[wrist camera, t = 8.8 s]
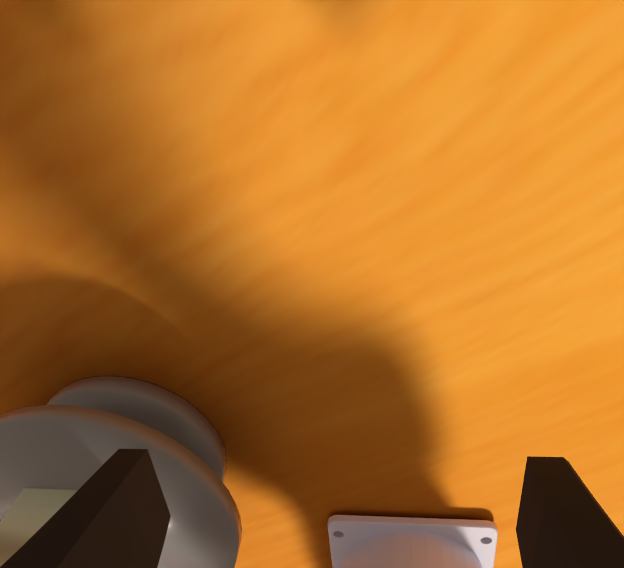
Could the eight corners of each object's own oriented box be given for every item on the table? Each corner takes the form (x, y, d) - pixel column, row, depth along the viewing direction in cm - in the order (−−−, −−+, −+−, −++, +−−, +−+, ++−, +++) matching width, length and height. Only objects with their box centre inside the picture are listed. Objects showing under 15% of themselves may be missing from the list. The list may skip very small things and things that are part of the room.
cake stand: (273, 533, 27) (257, 618, 24) (59, 524, 29) (14, 602, 25) (235, 347, 21) (206, 422, 18) (-31, 349, 23) (-107, 418, 19)
